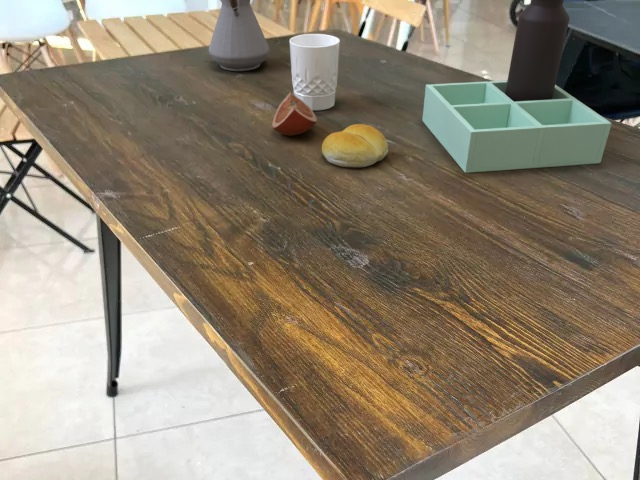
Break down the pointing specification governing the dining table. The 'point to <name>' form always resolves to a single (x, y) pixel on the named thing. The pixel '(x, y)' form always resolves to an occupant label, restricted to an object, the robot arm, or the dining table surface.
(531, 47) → the vinegar
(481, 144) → the green compartment tray
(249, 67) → the coffee pot
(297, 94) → the white cup
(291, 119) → the fruit slice
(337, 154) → the bread roll
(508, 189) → the dining table surface
